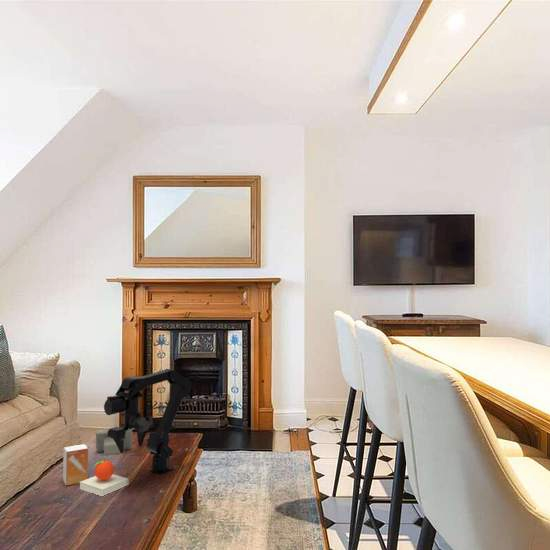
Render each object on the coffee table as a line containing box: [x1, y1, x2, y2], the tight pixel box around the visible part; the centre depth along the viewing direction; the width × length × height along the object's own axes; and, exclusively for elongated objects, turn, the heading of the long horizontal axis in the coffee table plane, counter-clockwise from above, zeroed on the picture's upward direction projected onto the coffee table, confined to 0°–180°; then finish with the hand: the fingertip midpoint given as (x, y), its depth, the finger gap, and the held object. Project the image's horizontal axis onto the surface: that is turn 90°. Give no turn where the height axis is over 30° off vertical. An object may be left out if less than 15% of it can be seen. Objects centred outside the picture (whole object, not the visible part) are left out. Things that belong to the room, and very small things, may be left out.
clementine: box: [91, 459, 115, 480], centre depth 182 cm, size 8×7×7 cm
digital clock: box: [95, 428, 133, 456], centre depth 223 cm, size 16×9×11 cm, turn 95°
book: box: [79, 473, 130, 497], centre depth 182 cm, size 12×13×3 cm
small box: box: [62, 443, 89, 486], centre depth 189 cm, size 8×6×13 cm
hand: (131, 449), depth 189 cm, fingers open, 9 cm apart
